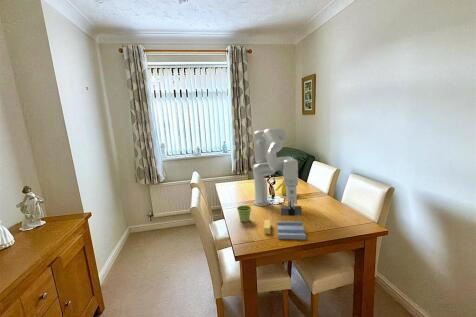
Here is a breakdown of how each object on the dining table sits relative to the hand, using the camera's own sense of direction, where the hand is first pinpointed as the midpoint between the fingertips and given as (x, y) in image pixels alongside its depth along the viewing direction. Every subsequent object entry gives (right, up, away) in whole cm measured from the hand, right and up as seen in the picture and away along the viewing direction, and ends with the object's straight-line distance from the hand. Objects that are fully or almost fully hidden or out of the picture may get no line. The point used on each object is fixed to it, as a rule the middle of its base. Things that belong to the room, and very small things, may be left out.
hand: (291, 213), depth 128 cm
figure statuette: (+11, 0, +70) cm, 70 cm away
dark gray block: (0, 0, 0) cm, 0 cm away
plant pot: (-25, -11, +25) cm, 37 cm away
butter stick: (-12, -12, +11) cm, 21 cm away
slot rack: (+1, -12, +7) cm, 14 cm away
